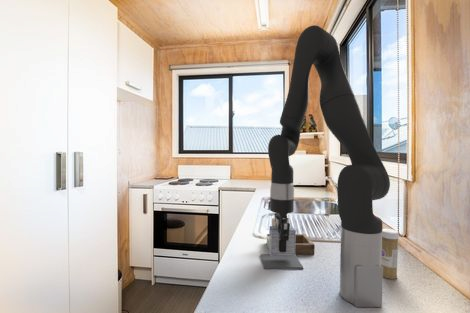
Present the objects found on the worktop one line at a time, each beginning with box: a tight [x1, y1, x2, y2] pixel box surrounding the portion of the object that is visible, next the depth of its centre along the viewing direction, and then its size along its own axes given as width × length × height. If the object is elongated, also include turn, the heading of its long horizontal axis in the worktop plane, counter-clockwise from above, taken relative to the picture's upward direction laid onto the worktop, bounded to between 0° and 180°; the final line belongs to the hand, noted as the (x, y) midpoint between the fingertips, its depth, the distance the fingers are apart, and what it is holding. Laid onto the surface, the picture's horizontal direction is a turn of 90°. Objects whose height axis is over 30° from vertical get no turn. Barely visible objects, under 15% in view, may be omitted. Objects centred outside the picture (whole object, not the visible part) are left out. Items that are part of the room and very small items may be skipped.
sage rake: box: [266, 217, 275, 250], centre depth 97 cm, size 7×4×11 cm, turn 1°
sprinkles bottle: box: [381, 228, 400, 280], centre depth 76 cm, size 5×5×14 cm
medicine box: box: [268, 225, 297, 256], centre depth 85 cm, size 8×4×9 cm, turn 91°
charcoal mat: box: [260, 253, 304, 270], centre depth 85 cm, size 10×12×1 cm
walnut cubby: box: [266, 233, 316, 256], centre depth 97 cm, size 11×15×4 cm
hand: (281, 248), depth 85 cm, fingers closed on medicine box, 4 cm apart
